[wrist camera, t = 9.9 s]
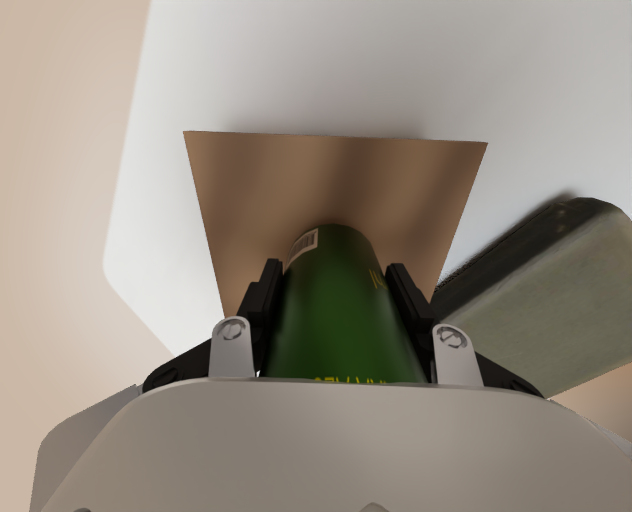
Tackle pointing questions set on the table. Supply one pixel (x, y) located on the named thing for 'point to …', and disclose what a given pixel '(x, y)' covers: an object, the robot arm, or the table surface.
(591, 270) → the network switch
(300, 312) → the beer can
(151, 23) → the table surface
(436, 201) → the wooden block
